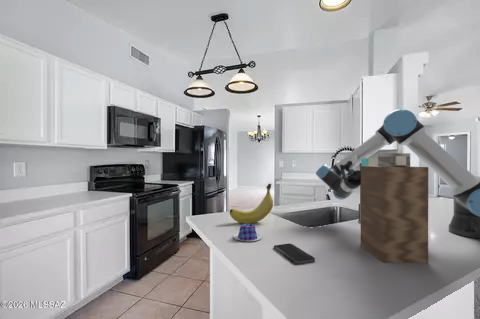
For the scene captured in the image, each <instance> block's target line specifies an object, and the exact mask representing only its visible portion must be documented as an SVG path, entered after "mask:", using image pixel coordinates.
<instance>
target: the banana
mask: <svg viewBox="0 0 480 319" xmlns="http://www.w3.org/2000/svg"><path fill="white" fill-rule="evenodd" d="M265 188H266V194H265V196H264V197H263V199H262V200H261V202H260V203H259V205H258V206H256V207H255V208H253V209H251V210H247V211H246V210H244V211H243V210H238V209H235V208H232V209H230V210H229V215H230V217H231V218H232V220H234V221H235V222H237V223H241V224H255V223H258V222H260V221H262V220H264V218H266V217H267V216H268V215H269V214H270V213H271V211H272V210H273V207H274V199H273V197H272V194H271V189H272V183H267V186H266V187H265Z"/></svg>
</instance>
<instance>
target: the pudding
mask: <svg viewBox="0 0 480 319" xmlns="http://www.w3.org/2000/svg"><path fill="white" fill-rule="evenodd" d="M255 226H256V225H254V224H253V223H248V224H246V223H241V225H240V226H239V232H237V233H234V234H233V236H232V237H233V238H234V239H235V240H237V241H242V242H250V241H252V242H255V241H259V240H261V239H262V238H263V235H262V234H260V233H258V232H257V230H256V227H255Z"/></svg>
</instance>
